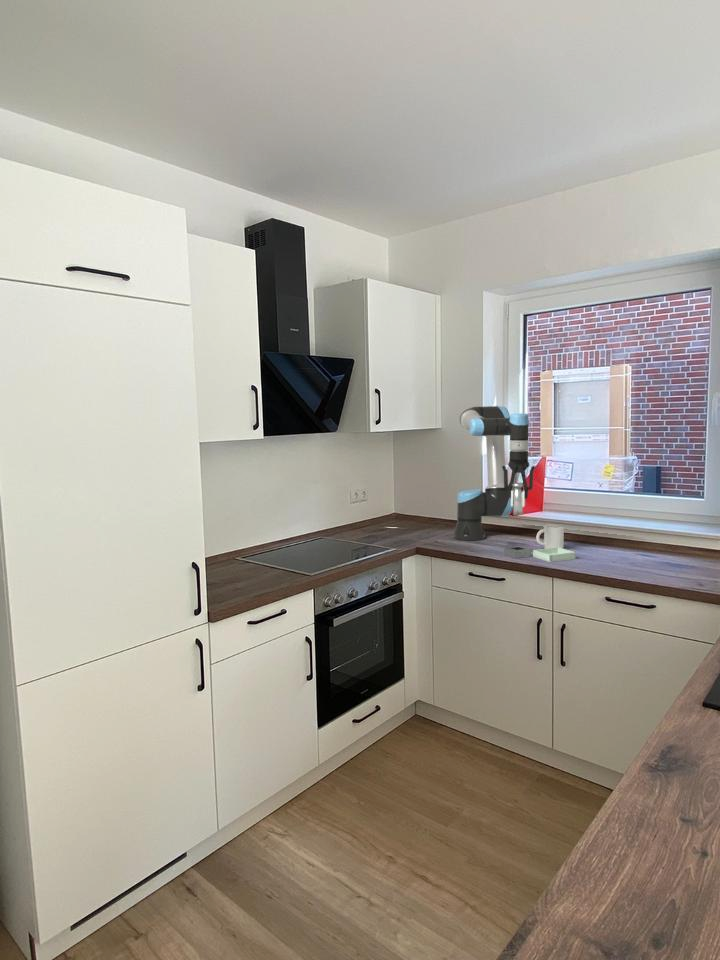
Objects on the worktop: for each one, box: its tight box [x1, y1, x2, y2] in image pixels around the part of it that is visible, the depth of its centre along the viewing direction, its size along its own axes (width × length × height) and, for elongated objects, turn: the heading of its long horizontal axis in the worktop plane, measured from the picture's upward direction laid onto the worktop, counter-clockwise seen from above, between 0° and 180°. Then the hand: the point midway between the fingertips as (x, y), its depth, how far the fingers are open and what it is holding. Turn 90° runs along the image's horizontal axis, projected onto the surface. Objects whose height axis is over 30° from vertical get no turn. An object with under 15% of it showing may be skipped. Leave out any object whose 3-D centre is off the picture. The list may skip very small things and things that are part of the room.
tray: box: [532, 547, 577, 563], centre depth 257 cm, size 11×13×3 cm
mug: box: [535, 523, 565, 549], centre depth 274 cm, size 12×8×10 cm
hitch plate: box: [503, 545, 532, 559], centre depth 262 cm, size 8×8×3 cm
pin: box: [512, 482, 524, 516], centre depth 260 cm, size 6×6×13 cm
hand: (518, 505), depth 260 cm, fingers closed on pin, 4 cm apart
